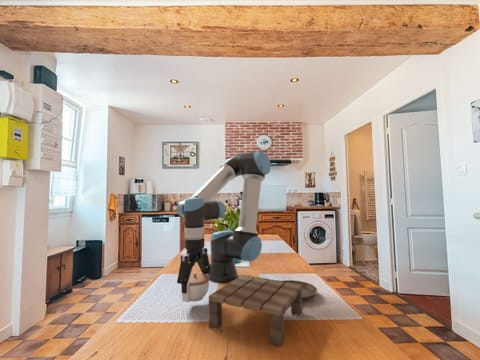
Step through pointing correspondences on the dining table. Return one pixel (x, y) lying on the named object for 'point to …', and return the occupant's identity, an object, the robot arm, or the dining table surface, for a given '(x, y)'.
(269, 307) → the walnut rack
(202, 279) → the lidded jar
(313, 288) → the plant saucer
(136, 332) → the dining table surface
